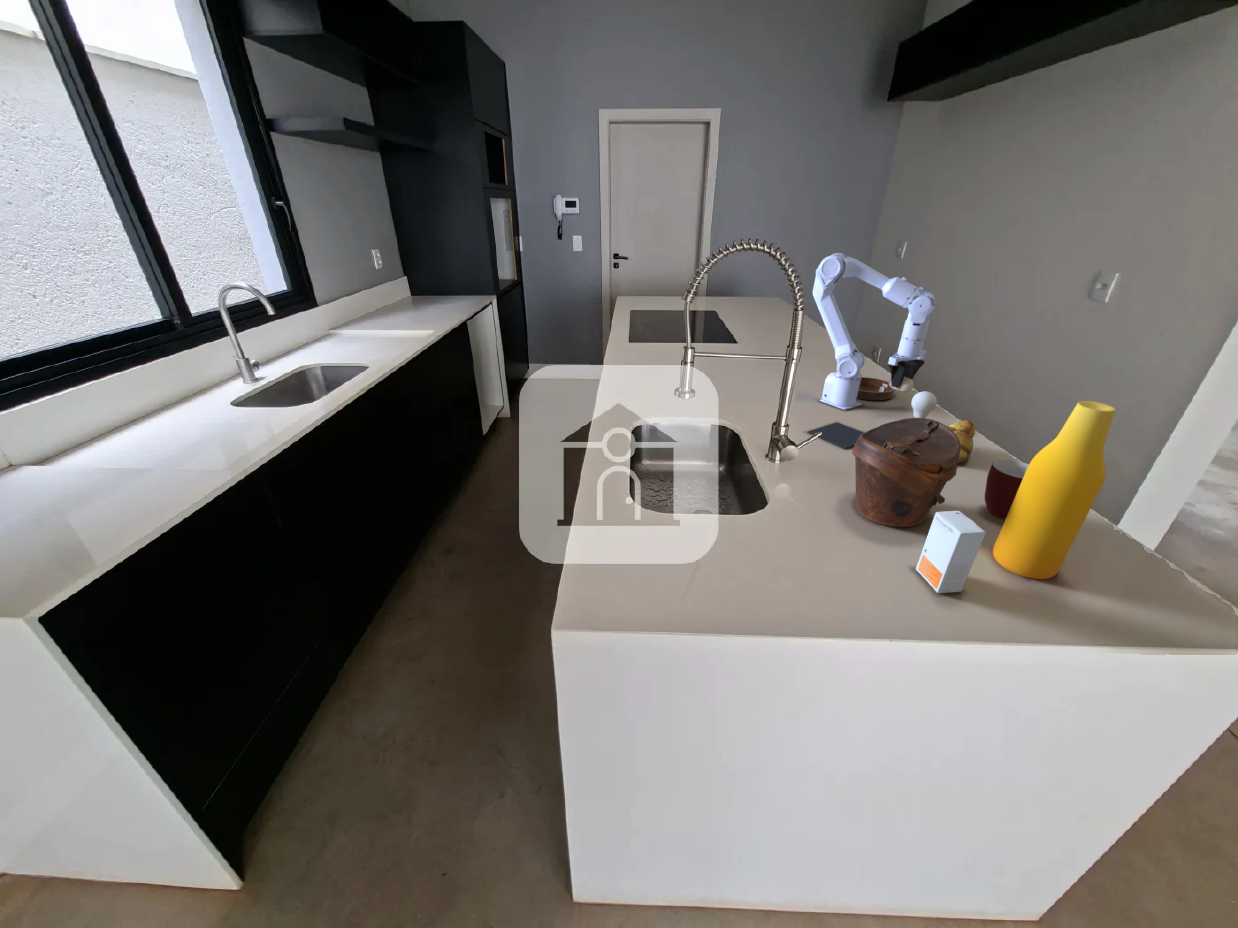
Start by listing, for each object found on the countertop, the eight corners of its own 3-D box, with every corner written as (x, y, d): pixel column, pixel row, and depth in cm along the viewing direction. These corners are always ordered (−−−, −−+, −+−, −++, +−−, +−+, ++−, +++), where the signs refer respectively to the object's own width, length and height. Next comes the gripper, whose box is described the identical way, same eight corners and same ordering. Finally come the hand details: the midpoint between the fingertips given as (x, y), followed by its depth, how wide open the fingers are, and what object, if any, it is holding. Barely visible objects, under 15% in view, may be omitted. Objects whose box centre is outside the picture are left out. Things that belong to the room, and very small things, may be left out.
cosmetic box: (914, 569, 84) (934, 511, 79) (937, 568, 85) (959, 509, 79) (937, 594, 79) (960, 533, 73) (962, 592, 79) (987, 531, 74)
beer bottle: (1040, 550, 89) (1113, 397, 75) (1068, 584, 81) (1157, 420, 67) (982, 543, 91) (1043, 393, 77) (1004, 576, 83) (1077, 415, 69)
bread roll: (970, 470, 115) (982, 439, 111) (923, 461, 119) (932, 431, 115) (967, 448, 125) (977, 419, 121) (923, 441, 129) (931, 412, 125)
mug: (1039, 513, 99) (1059, 470, 94) (1040, 533, 93) (1061, 487, 88) (976, 497, 104) (993, 455, 100) (973, 515, 99) (991, 471, 94)
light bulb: (923, 422, 140) (933, 388, 135) (933, 430, 135) (943, 396, 130) (901, 421, 140) (910, 388, 136) (910, 430, 135) (920, 395, 130)
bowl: (832, 390, 163) (833, 382, 162) (861, 382, 170) (863, 374, 169) (873, 405, 152) (875, 395, 150) (903, 395, 159) (906, 386, 157)
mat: (807, 432, 134) (807, 431, 134) (836, 423, 140) (837, 422, 140) (845, 449, 125) (845, 447, 125) (875, 438, 131) (875, 437, 130)
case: (840, 529, 95) (860, 445, 87) (840, 480, 111) (857, 406, 103) (946, 549, 89) (979, 461, 81) (930, 495, 105) (956, 417, 97)
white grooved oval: (884, 388, 145) (887, 374, 143) (892, 386, 147) (896, 372, 145) (905, 395, 140) (909, 380, 138) (914, 392, 142) (918, 378, 140)
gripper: (911, 345, 130) (898, 394, 136) (942, 337, 136) (928, 384, 143) (886, 339, 135) (874, 387, 141) (917, 332, 142) (904, 378, 148)
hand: (900, 385), depth 142 cm, fingers closed on white grooved oval, 4 cm apart
